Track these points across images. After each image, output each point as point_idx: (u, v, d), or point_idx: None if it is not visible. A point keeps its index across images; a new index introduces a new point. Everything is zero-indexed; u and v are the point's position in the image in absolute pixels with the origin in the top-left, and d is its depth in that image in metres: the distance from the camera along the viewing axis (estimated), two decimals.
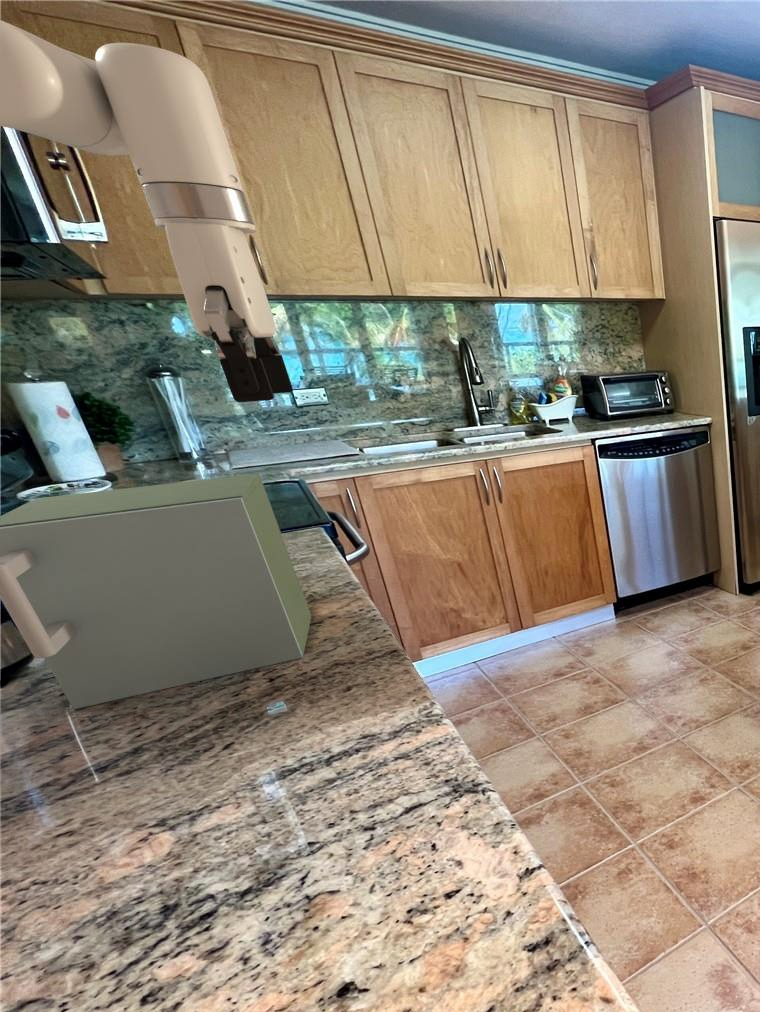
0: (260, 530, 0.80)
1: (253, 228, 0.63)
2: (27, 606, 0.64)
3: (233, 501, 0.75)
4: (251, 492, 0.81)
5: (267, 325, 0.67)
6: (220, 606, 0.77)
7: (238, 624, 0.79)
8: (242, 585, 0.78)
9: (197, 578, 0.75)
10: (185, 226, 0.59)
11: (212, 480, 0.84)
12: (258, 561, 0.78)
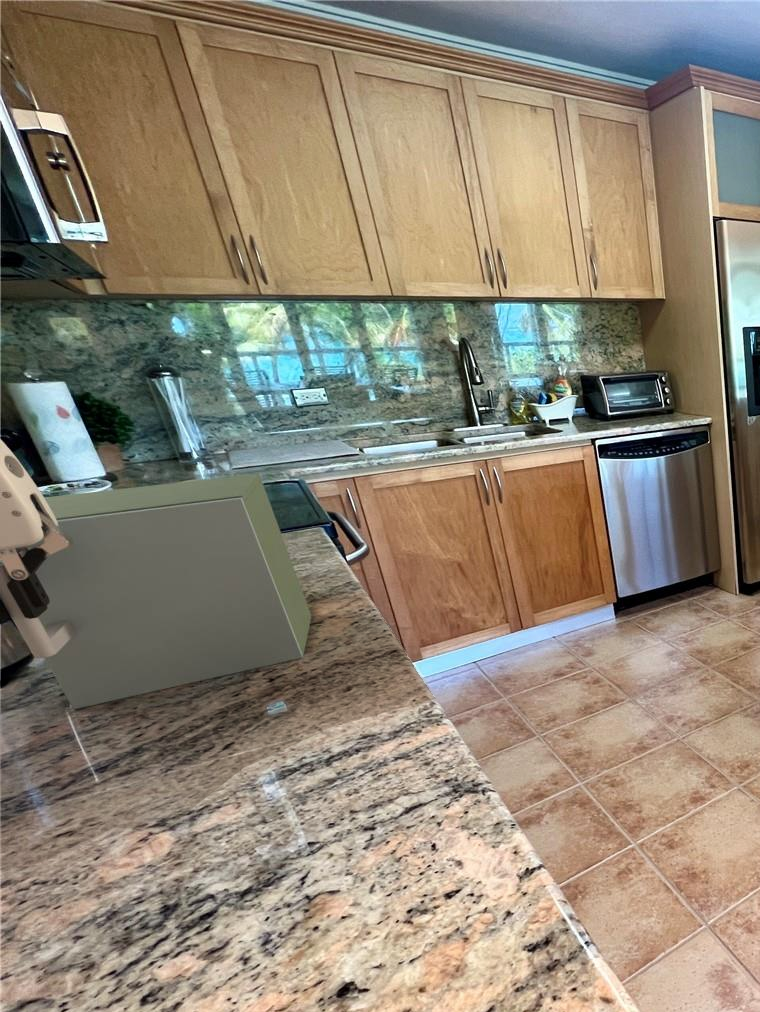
0: (260, 530, 0.80)
1: None
2: None
3: (233, 501, 0.75)
4: (251, 492, 0.81)
5: None
6: (220, 606, 0.77)
7: (238, 624, 0.79)
8: (242, 585, 0.78)
9: (197, 578, 0.75)
10: None
11: (212, 480, 0.84)
12: (258, 561, 0.78)
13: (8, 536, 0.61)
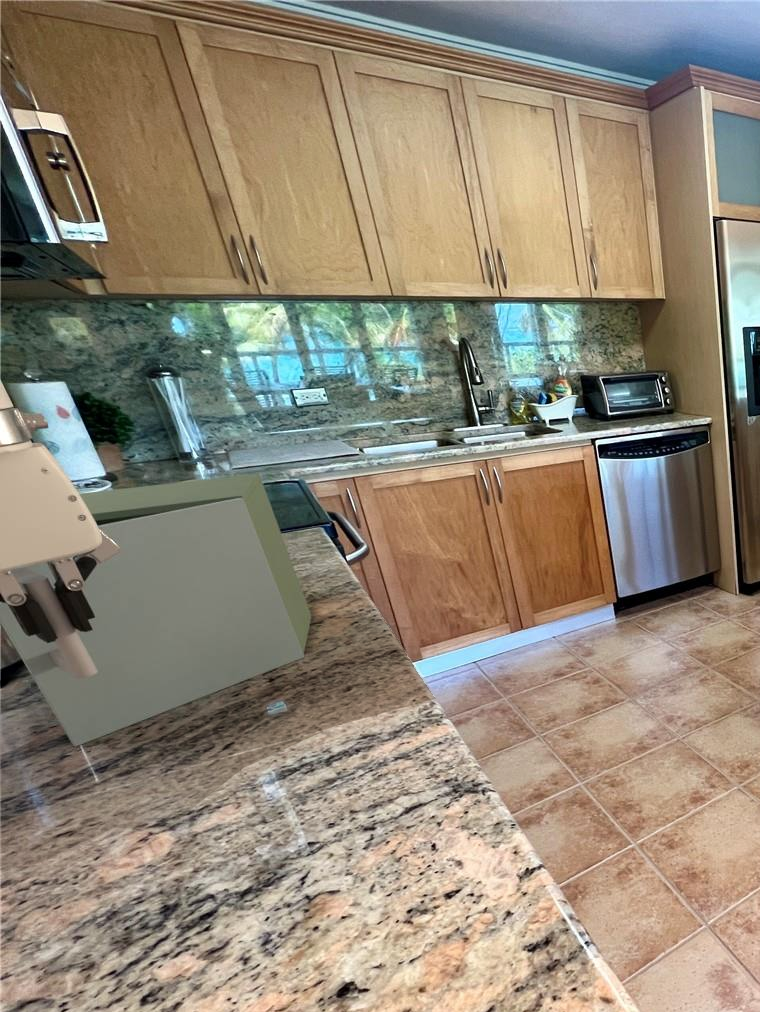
0: (260, 530, 0.80)
1: None
2: (70, 621, 0.61)
3: (235, 501, 0.74)
4: (251, 492, 0.81)
5: (27, 554, 0.56)
6: (225, 612, 0.75)
7: (243, 629, 0.77)
8: (246, 588, 0.77)
9: (203, 584, 0.73)
10: None
11: (212, 480, 0.84)
12: (261, 561, 0.78)
13: (72, 542, 0.58)
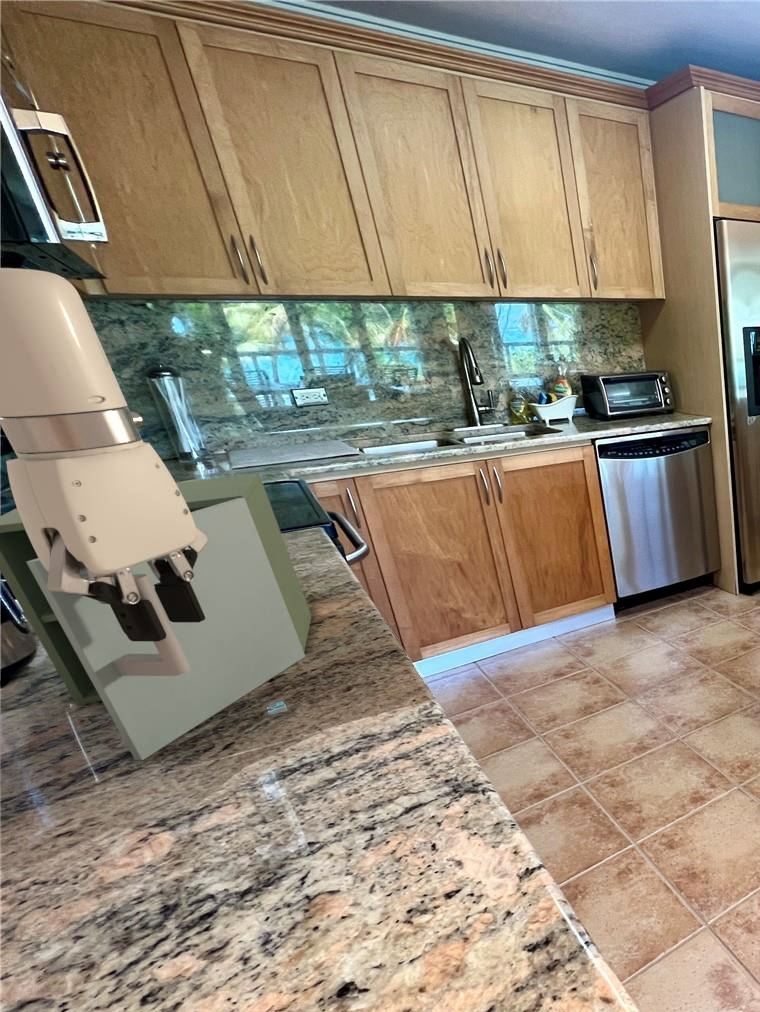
0: (260, 530, 0.80)
1: (118, 450, 0.53)
2: (166, 617, 0.61)
3: (239, 501, 0.75)
4: (251, 492, 0.81)
5: (152, 548, 0.57)
6: (243, 613, 0.75)
7: (258, 630, 0.77)
8: (256, 588, 0.77)
9: (223, 586, 0.73)
10: (16, 466, 0.50)
11: (212, 480, 0.84)
12: (264, 561, 0.78)
13: (181, 536, 0.60)
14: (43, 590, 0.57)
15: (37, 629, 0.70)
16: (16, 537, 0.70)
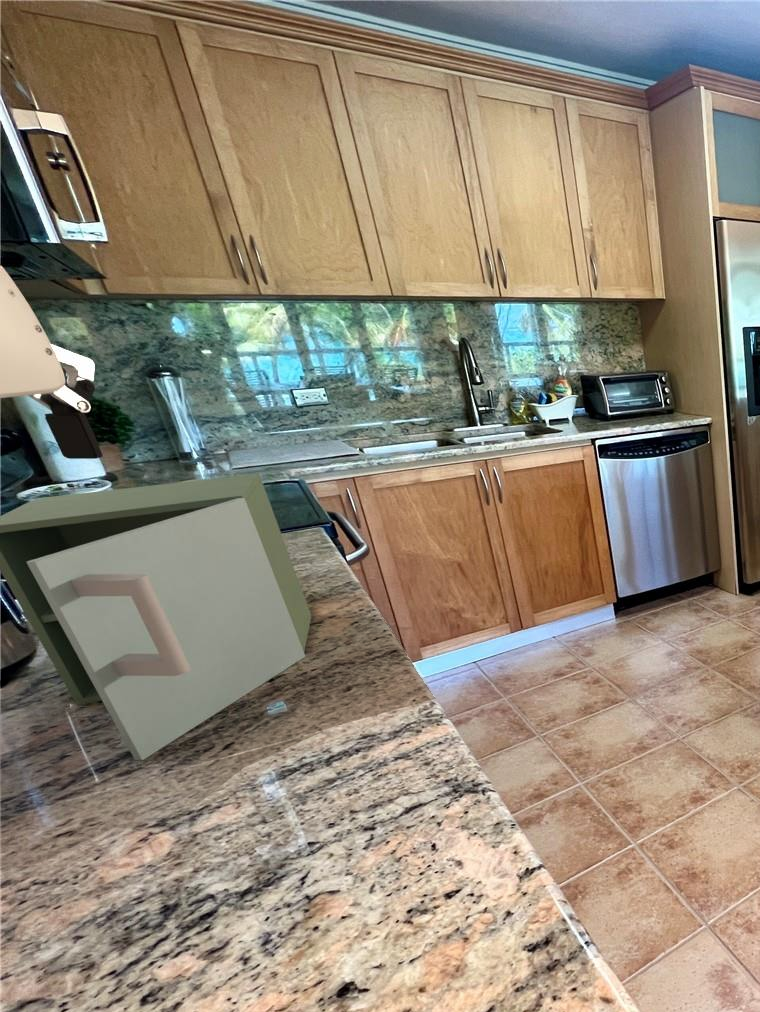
0: (260, 530, 0.80)
1: None
2: (166, 617, 0.61)
3: (239, 501, 0.75)
4: (251, 492, 0.81)
5: (3, 383, 0.52)
6: (243, 613, 0.75)
7: (258, 630, 0.77)
8: (256, 588, 0.77)
9: (223, 586, 0.73)
10: None
11: (212, 480, 0.84)
12: (264, 561, 0.78)
13: (43, 377, 0.54)
14: (43, 590, 0.57)
15: (37, 629, 0.70)
16: (16, 537, 0.70)
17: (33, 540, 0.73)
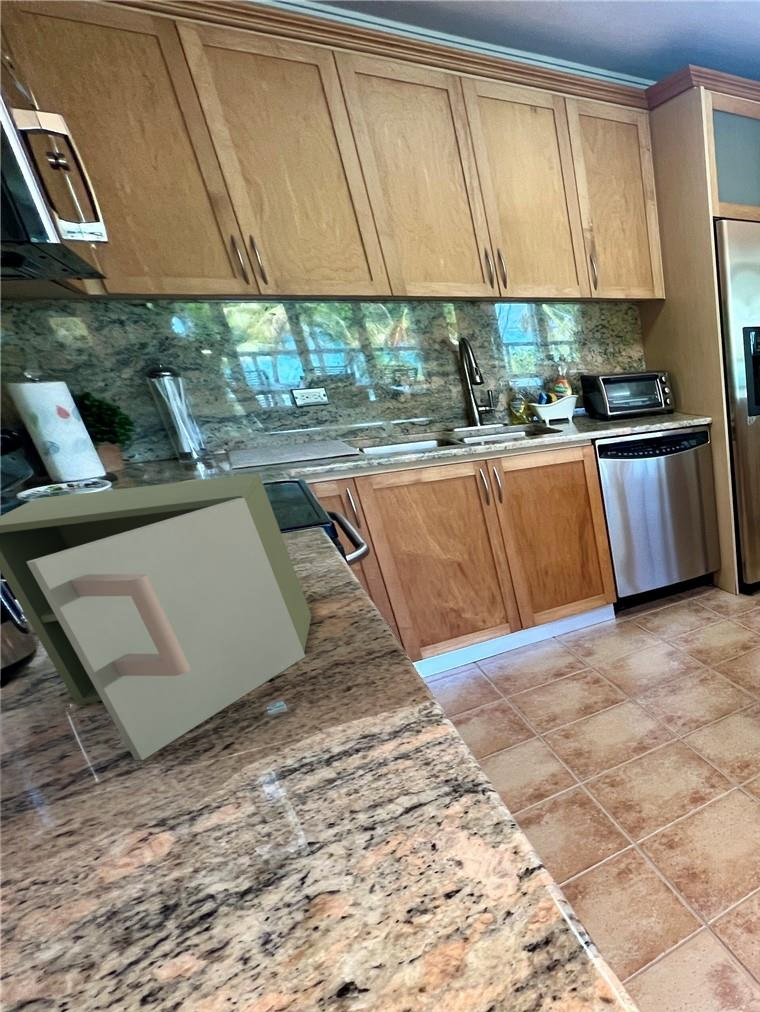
0: (260, 530, 0.80)
1: None
2: (166, 617, 0.61)
3: (239, 501, 0.75)
4: (251, 492, 0.81)
5: None
6: (243, 613, 0.75)
7: (258, 630, 0.77)
8: (256, 588, 0.77)
9: (223, 586, 0.73)
10: None
11: (212, 480, 0.84)
12: (264, 561, 0.78)
13: None
14: (43, 590, 0.57)
15: (37, 629, 0.70)
16: (16, 537, 0.70)
17: (33, 540, 0.73)
